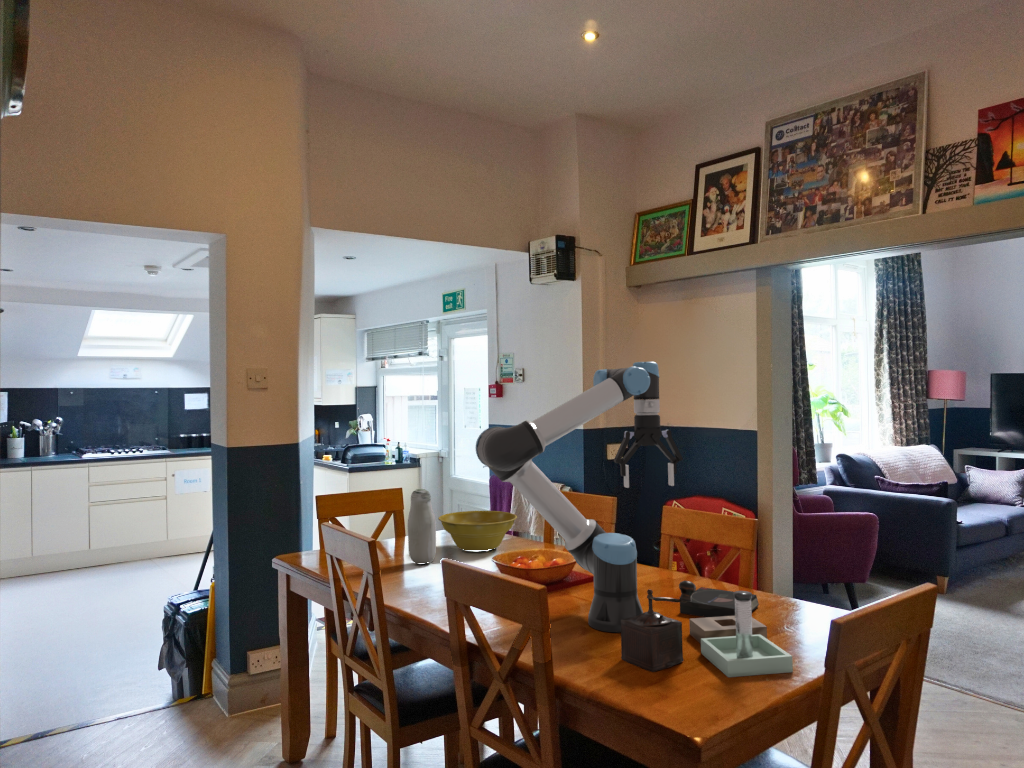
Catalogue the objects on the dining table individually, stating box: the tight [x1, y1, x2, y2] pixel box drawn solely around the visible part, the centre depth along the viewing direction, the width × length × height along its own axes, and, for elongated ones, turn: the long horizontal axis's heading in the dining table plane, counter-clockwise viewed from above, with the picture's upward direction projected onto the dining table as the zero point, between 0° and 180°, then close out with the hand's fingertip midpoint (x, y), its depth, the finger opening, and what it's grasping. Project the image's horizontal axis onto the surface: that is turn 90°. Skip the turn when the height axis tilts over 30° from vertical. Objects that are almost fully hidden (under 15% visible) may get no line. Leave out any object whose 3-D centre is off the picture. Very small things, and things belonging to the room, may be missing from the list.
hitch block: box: [688, 616, 768, 644], centre depth 183 cm, size 16×10×4 cm, turn 98°
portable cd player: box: [679, 586, 760, 618], centre depth 207 cm, size 16×17×4 cm
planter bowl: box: [438, 510, 518, 550], centre depth 297 cm, size 32×32×13 cm
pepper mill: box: [620, 580, 697, 673], centre depth 170 cm, size 16×11×18 cm
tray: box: [700, 634, 794, 678], centre depth 167 cm, size 15×15×4 cm
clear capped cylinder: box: [733, 590, 753, 659], centre depth 167 cm, size 4×4×15 cm
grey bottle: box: [407, 488, 437, 564], centre depth 273 cm, size 10×10×28 cm
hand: (649, 486), depth 214 cm, fingers open, 13 cm apart
